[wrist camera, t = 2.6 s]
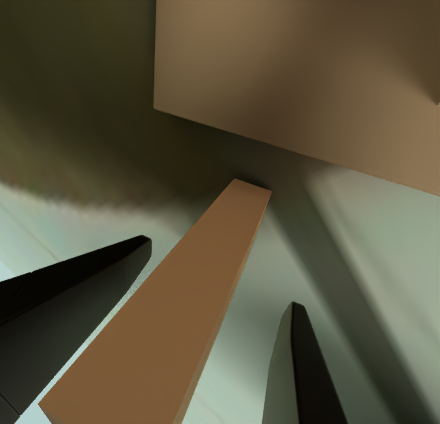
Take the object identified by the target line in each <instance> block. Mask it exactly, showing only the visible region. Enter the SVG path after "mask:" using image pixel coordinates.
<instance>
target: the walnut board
mask: <svg viewBox="0 0 440 424" xmlns="http://www.w3.org/2000/svg"><path fill="white" fill-rule="evenodd" d="M439 102H440V0H156V34H155V68H154V103H153V109H156V110H159V111H163V112H166V113H169V114H172V115H176V116H179V117H182V118H185V119H189V120H192V121H195V122H199V123H202V124H205V125H208V126H212V127H215V128H218V129H221V130H225V131H228V132H231V133H234V134H238V135H241V136H244V137H248V138H251V139H254V140H257V141H261V142H264V143H267V144H270V145H274V146H277V147H280V148H284V149H287V150H290V151H293V152H297V153H300V154H303V155H306V156H310V157H313V158H316V159H319V160H323V161H326V162H329V163H333V164H336V165H339V166H342V167H346V168H349V169H352V170H355V171H359V172H362V173H365V174H368V175H372V176H375V177H378V178H382V179H385V180H388V181H391V182H395V183H398V184H401V185H404V186H408V187H411V188H414V189H417V190H421V191H424V192H427V193H431V194H434V195H437V196H440V106H437V105H438V104H439Z"/></svg>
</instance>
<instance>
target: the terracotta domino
mask: <svg viewBox="0 0 440 424" xmlns="http://www.w3.org/2000/svg"><path fill="white" fill-rule="evenodd" d="M271 193H272V191H270V190H267V189H264V188H261V187H258V186H255V185H252V184H250V183H247V182H244V181H241V180H238V179H235V178H234V179H233V180H232V182H231V183H230V184H229V185H228V186H227V187H226V188H225V190H224V191H223V192H222V193H221V194H220V195H219V196H218V198H217V199H216V200H215V201H214V202H213V203H212V205H211V206H210V207H209V208H208V209H207V210H206V211H205V213H204V214H203V215H202V216H201V217H200V218H199V219H198V221H197V222H196V223H195V224H194V225H193V226H192V227H191V229H190V230H189V231H188V232H187V233H186V234H185V236H184V237H183V238H182V239H181V240H180V241H179V242H178V244H177V245H176V246H175V247H174V248H173V249H172V250H171V252H170V253H169V254H168V255H167V256H166V257H165V258H164V260H163V261H162V262H161V263H160V264H159V265H158V267H157V268H156V269H155V270H154V271H153V272H152V273H151V275H150V276H149V277H148V278H147V279H146V280H145V281H144V283H143V284H142V285H141V286H140V287H139V288H138V289H137V291H136V292H135V293H134V294H133V295H132V296H131V298H130V299H129V300H128V301H127V302H126V303H125V304H124V306H123V307H122V308H121V309H120V310H119V311H118V312H117V314H116V315H115V316H114V317H113V318H112V319H111V320H110V322H109V323H108V324H107V325H106V326H105V327H104V329H103V330H102V331H101V332H100V333H99V334H98V335H97V337H96V338H95V339H94V340H93V341H92V342H91V343H90V345H89V346H88V347H87V348H86V349H85V350H84V351H83V353H82V354H81V355H80V356H79V357H78V359H77V360H76V361H75V362H74V363H73V364H72V365H71V367H70V368H69V369H68V370H67V371H66V372H65V373H64V374H63V376H62V377H61V378H60V379H59V380H58V381H57V382H56V384H55V385H54V386H53V387H52V388H51V389H50V391H49V392H48V393H47V394H46V395H45V396H44V398H43V399H42V400H41V401H40V402H39V403H38V405H39V406H40V408H41V409H42V411H43V412H44V413H45V415H46V416H47V418H48V419H49V421H50V422H51V423H52V424H181V423H182V421H183V418H184V416H185V414H186V411H187V409H188V406H189V404H190V401H191V399H192V396H193V394H194V391H195V389H196V386H197V384H198V381H199V379H200V376H201V374H202V371H203V369H204V366H205V364H206V361H207V359H208V356H209V354H210V351H211V349H212V346H213V344H214V341H215V339H216V337H217V334H218V332H219V329H220V327H221V324H222V322H223V319H224V317H225V314H226V312H227V309H228V307H229V304H230V302H231V299H232V297H233V294H234V292H235V289H236V287H237V284H238V282H239V279H240V277H241V274H242V272H243V269H244V266H245V264H246V261H247V258H248V255H249V253H250V250H251V247H252V245H253V242H254V239H255V236H256V234H257V231H258V228H259V226H260V223H261V220H262V217H263V215H264V212H265V209H266V207H267V204H268V201H269V199H270V196H271Z"/></svg>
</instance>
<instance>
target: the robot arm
mask: <svg viewBox="0 0 440 424" xmlns="http://www.w3.org/2000/svg"><path fill="white" fill-rule="evenodd" d="M151 254H152V240H151V239H150V238H148V237H146V236H144V235H139V236H136V237H133V238H130V239H127V240H124V241H121V242H118V243H115V244H112V245H110V246H107V247H104V248H101V249H98V250H95V251H92V252H89V253H86V254H83V255H80V256H77V257H74V258H71V259H68V260H65V261H62V262H59V263H56V264H53V265H50V266H47V267H44V268H41V269H38V270H35V271H33V272H32V273H31V272H29V273H26V274H23V275H20V276H17V277H14V278H11V279H7V280H4V281H1V282H0V424H14V423H15V422H16V421H17V420H18V418H19V417H20V415H22V414H23V412H24V411H25V410H26V409H27V408H28V407H29V406H30V404H31V403H32V402H33V401H34V400H35V399H36V397H37V396H38V395H39V394H40V393H41V392H42V390H43V389H44V388H45V387H46V386H47V385H48V383H49V382H50V381H51V380H52V379H53V378H54V376H55V375H56V374H57V373H58V372H59V371H60V369H61V368H62V367H63V366H64V365H65V364H66V362H67V361H68V360H69V359H70V358H71V357H72V356H73V354H74V353H75V352H76V351H77V350H78V348H79V347H80V346H81V345H82V344H83V343H84V342H85V340H86V339H87V338H88V337H89V336H90V335H91V333H92V332H93V331H94V330H95V329H96V328H97V326H98V325H99V324H100V323H101V322H102V321H103V319H104V318H105V317H106V316H107V315H108V314H109V313H110V311H111V310H112V309H113V308H114V307H115V306H116V304H117V303H118V302H119V301H120V300H121V299H122V297H123V296H124V295H125V294H126V292H127V291H128V290H129V288H130V287H131V286H132V284H133V283H134V281H135V280H136V278H137V277H138V275H139V274H140V273H141V271H142V270H143V268H144V267H145V265H146V264H147V262H148V261H149V259H150V257H151ZM262 424H348V421H347V418H346V416H345V413H344V410H343V408H342V405H341V402H340V400H339V397H338V394H337V392H336V389H335V386H334V384H333V381H332V378H331V376H330V373H329V370H328V368H327V365H326V362H325V360H324V357H323V354H322V352H321V349H320V346H319V344H318V341H317V339H316V336H315V333H314V331H313V328H312V325H311V323H310V320H309V317H308V315H307V312H306V309H305V307H304V306H303V305H301V304H299V303H296V302H294V301H292V302H291V303H290V304H289V306H288V307H287V309H286V311H285V312H284V314H283V316H282V319H281V322H280V326H279V330H278V334H277V338H276V342H275V346H274V350H273V354H272V358H271V362H270V367H269V373H268V381H267V389H266V396H265V404H264V411H263V419H262Z"/></svg>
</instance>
